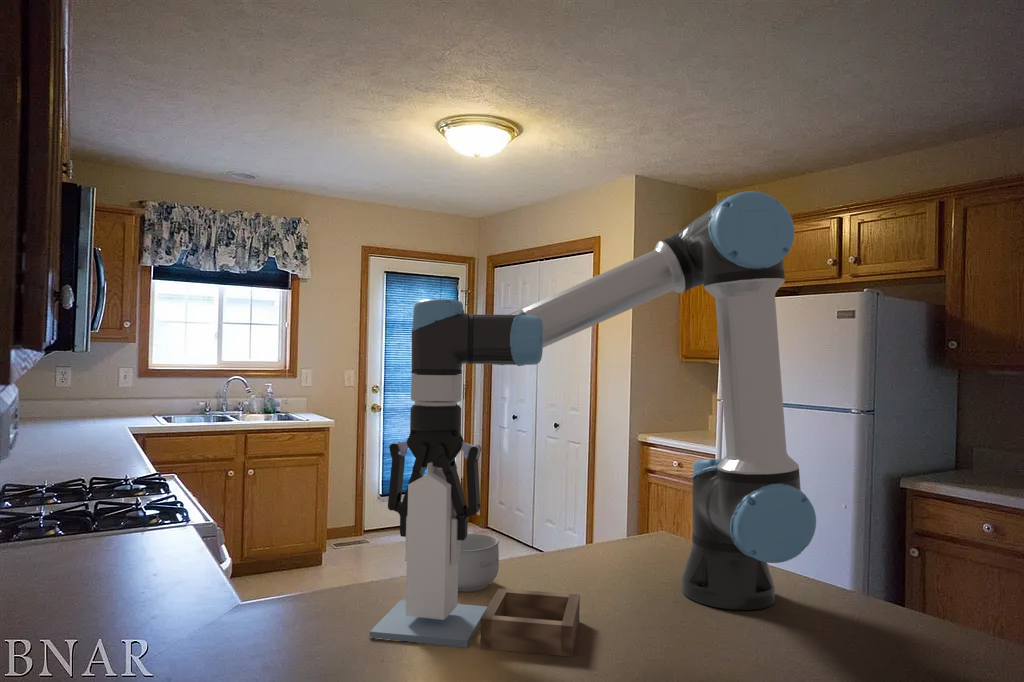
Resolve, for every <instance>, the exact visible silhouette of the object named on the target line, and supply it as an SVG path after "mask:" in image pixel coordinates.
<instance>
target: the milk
mask: <svg viewBox="0 0 1024 682" xmlns="http://www.w3.org/2000/svg"><path fill="white" fill-rule="evenodd" d="M407 486H408V517H407V561H406V571H405V572H406V573H405V574H406V576H405V578H406V579H405V581H406V582H405V600H406V616H413V617H422V618H430V619H439V620H444V619H445V618H446V617H447V616H448V615H449V614H450V613H451V612H452V611H453V610H454V609H455V608H456V607H457V604H458V597H459V596H458V594H459V593H458V592H459V591H458V563H457V564H456V565H452V564H451V523H452V518H454V517H455V516H456V511H455V508H454V504H453V501H452V498H451V484H449V483H448V482H447V480H446V477H445V474H444V473H443V470H442V468H438V467H435V466H433V462H430V463H428V465H427V469H426V474H424V475H423V477H421V478H419V479H417V480H416V481H414V482H412V483H410V484H409V485H408V484H407Z"/></svg>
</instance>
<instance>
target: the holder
mask: <svg viewBox="0 0 1024 682" xmlns="http://www.w3.org/2000/svg"><path fill="white" fill-rule="evenodd" d="M580 598H581V595H580V594H577V593H564V592H553V591H552V592H551V591H538V590H524V589H523V590H522V589H514V588H512V589H510V588H497V591H496V592H495V594H494V595H493V597H492V599H491V600H490V602H489V604H488V605H487V609H486V610H485V612H484V614H483V616H482V617H481V625H480V634H479V635H480V637H479V639H480V644H479V646H480V647H479V649H484V650H485V649H486V650H495V651H496V650H497V651H506V652H517V653H529V654H539V655H551V656H559V657H570V658H573V655H574V651H575V650H574V649H575V644H576V640H577V635H578V629H579V625H580V609H581V608H580V606H581V605H580V602H581V601H580V600H581V599H580Z"/></svg>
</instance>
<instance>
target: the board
mask: <svg viewBox="0 0 1024 682" xmlns="http://www.w3.org/2000/svg"><path fill="white" fill-rule="evenodd" d="M487 607H488V605H486V606H485V605H475V604H474V605H473V604H460V603H457V607H456V608H455V609H454V610H453V611H452V612H451V613H450V614H449V615H448V616H447V617H446V618H445V619H444V620H439V619H430V618H422V617H413V616H406V599H400V600H399V601H398V602H397V603H396V604H395V605H394V606H393V607H392V608H390V610H389V611H388V612H387V613H386V615H384V616H383V617H382V618H381V619H380V620H379V621H378V622H377V624H375V626H373V627H372V629H370V630H369V638H370V637H372V638H382V639H390V640H397V641H396V642H399V641H409V642H408V643H410V642H418V643H417V644H421V643H426V644H425V645H431V644H434V646H442V645H443V646H444V647H455V648H456V647H457V648H465V649H468V647H470V643H471V642H472V640H473V639H474V636H475V635H476V634H477V631H478V630H479V628H481V617H482V616H483V614H484V612H485V610H486V609H487ZM398 640H399V641H398ZM445 645H446V646H445Z"/></svg>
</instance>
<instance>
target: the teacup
mask: <svg viewBox="0 0 1024 682" xmlns="http://www.w3.org/2000/svg"><path fill="white" fill-rule="evenodd" d="M499 543H500V539H499V538H498V537H496V536H494V535H491V534H487V533H476V532H475V531H467V537H466V539H465V540H461V554H460V560H459V562H458V592H460V591H463V592H462V593H469V592H470V593H472V592H477V591H482V590H484V589H486V588H487V587H488V586H489V585H490V584H491V583H492V582H494V580H496V579H497V577H498V576H497V575H498V573H499V568H500V563H499V559H500V555H499V554H500V553H499V552H500V551H499V549H500V548H499Z"/></svg>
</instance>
